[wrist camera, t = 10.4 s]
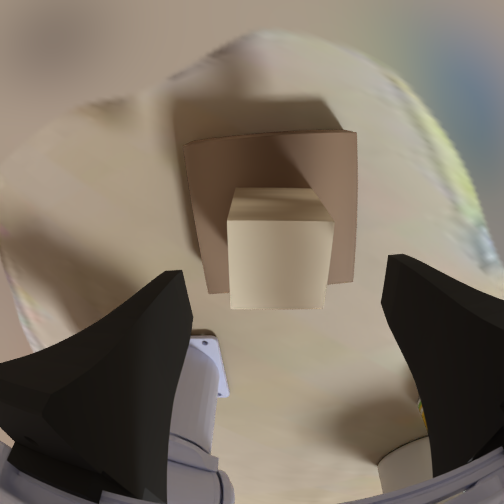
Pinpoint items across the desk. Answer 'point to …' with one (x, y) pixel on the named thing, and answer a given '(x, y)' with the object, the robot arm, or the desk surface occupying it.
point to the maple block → (278, 248)
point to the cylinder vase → (407, 467)
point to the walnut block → (273, 176)
